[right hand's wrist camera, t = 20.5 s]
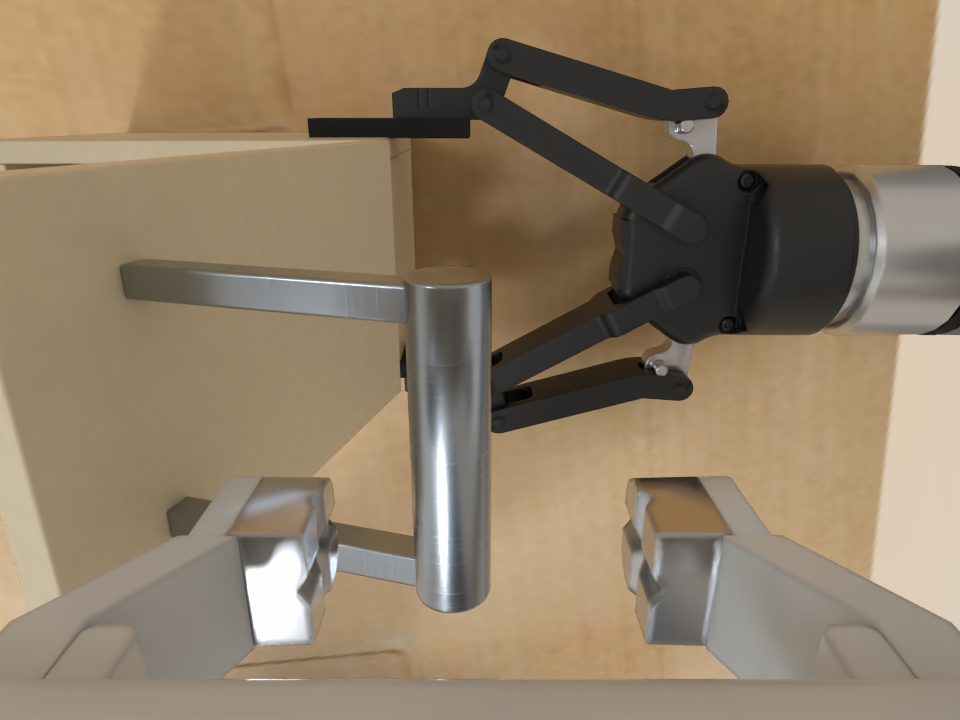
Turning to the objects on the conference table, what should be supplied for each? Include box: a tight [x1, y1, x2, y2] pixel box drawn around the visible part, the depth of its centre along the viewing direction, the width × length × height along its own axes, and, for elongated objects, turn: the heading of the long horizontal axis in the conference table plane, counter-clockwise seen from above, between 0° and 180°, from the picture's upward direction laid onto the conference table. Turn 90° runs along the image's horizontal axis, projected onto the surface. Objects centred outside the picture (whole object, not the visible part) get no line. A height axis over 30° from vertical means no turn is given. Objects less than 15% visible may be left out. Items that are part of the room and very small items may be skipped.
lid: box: [0, 140, 492, 613], centre depth 18 cm, size 16×10×8 cm
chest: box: [0, 132, 415, 359], centre depth 31 cm, size 15×10×11 cm, turn 90°
